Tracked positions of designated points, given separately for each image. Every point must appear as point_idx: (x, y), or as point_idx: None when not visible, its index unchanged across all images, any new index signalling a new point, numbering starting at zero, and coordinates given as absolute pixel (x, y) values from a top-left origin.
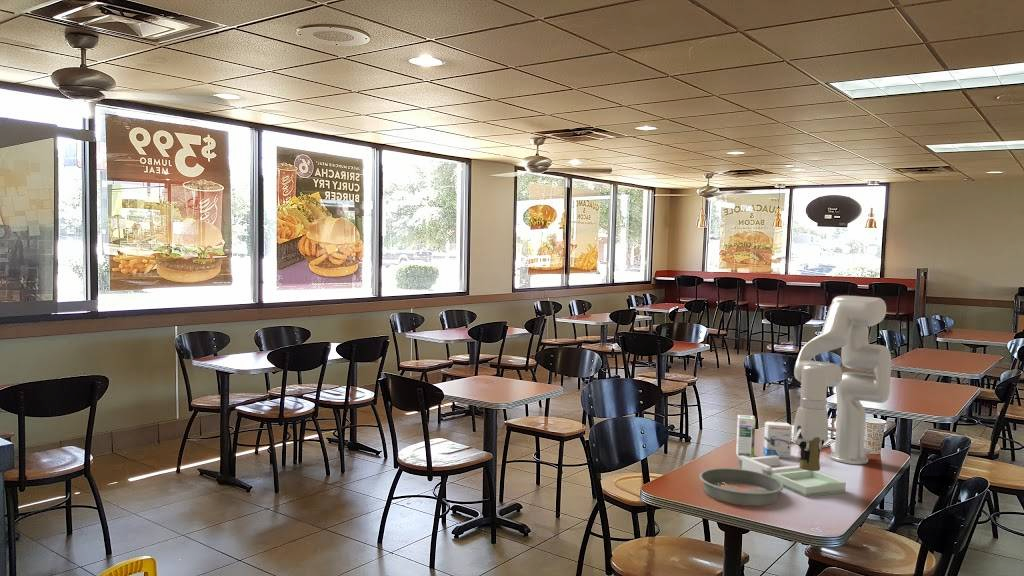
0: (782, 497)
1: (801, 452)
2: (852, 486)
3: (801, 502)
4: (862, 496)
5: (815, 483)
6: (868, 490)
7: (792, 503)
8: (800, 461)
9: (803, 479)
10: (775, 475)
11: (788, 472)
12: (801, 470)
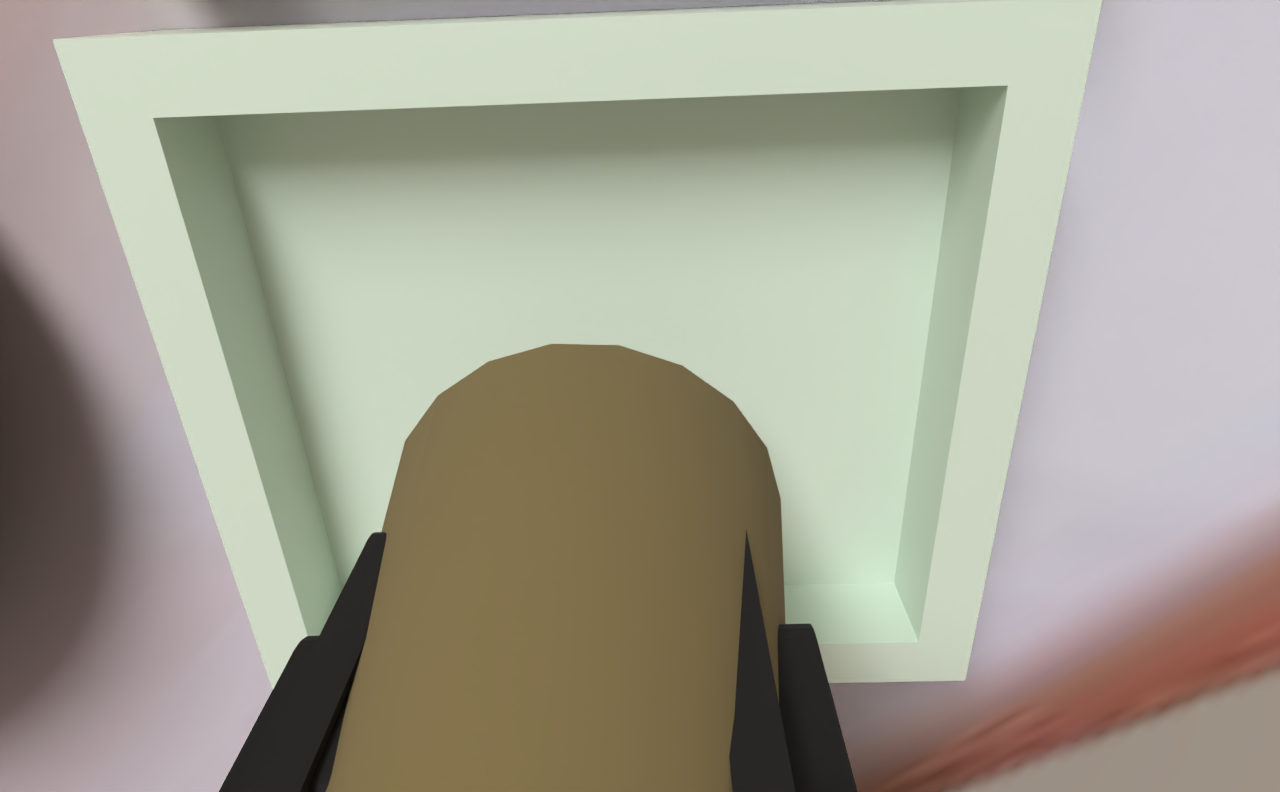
0: (37, 550)
1: (229, 790)
2: (1225, 470)
3: (187, 695)
4: (972, 718)
5: (730, 374)
6: (1244, 614)
7: (73, 694)
8: (412, 479)
9: (692, 170)
10: (88, 104)
11: (426, 58)
12: (805, 10)
